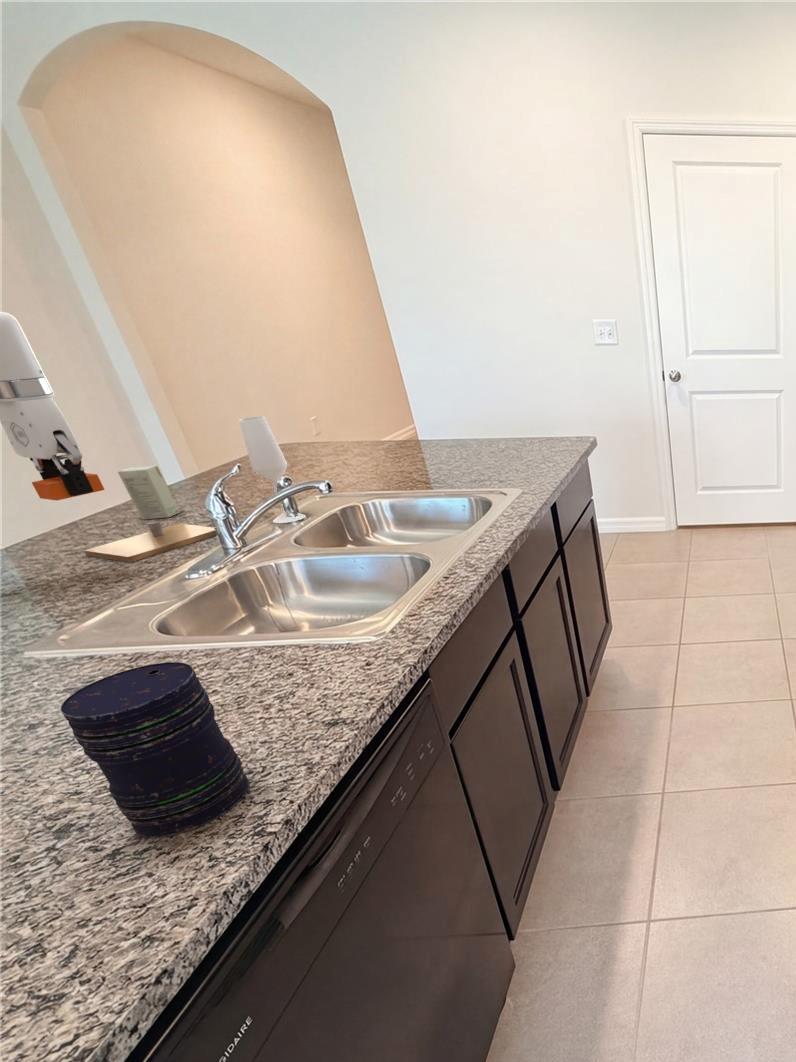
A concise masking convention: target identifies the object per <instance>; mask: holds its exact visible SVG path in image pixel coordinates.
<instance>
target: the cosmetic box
mask: <svg viewBox="0 0 796 1062" xmlns="http://www.w3.org/2000/svg"><path fill="white" fill-rule="evenodd" d="M117 474H118V475H119V477H120V479H121V481H122V483H123V485H124V488H125V490H126V491H127V493H128V495H129V497H130V499H131V501H132V503H133V505H134V506H135V509H136V511H137V512H138V515H139V516H140V518H141V520H153V519H155V520H156V519H165V518H170V517H173V516H175V515H178V514H179V513H181V510H180V509H179V506H178V504H177V502H176V500H175V498H174V496H173V494H172V492H171V490H170V488H169V485H168V484H167V482H166V480H165V478H164V476H163V474H162V471H161V469H160V468H159V465H145V466H132V467H131V466H130V467H128V468H124V469H121V470H118V471H117Z"/></svg>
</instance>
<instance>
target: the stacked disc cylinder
mask: <svg viewBox="0 0 796 1062" xmlns="http://www.w3.org/2000/svg"><path fill="white" fill-rule="evenodd" d="M60 712H61V714H62V715H63V717H64V719H65V720H66V721H68V725H69V727H70V728H71V730H72V735H73V737H74V738H75V740H76V741H77V743H78V745H79V746H81V747H82V748H83V753H84V755H85V756H86V757H88V758H89V760H91V761H92V762H95V763H96V764H97V765H98V767H99V769H100V770H101V771H102V774H103V775H104V777H105V779H106V780H107V782H108V783H109V785H108V791H109V793H110V794H111V797H112V800H114V801H115V805H116V806H117V807H118V810H119V812H121V814H122V815H123V816H125V817H126V819H127V820H128V821H129V822H130V823H131V827H132V829H133V830H134V832H135V834H137V835H138V836H142V837H144V838H165V837H170V836H171V837H172V836H176V835H179V834H182V833H186V832H189V831H192V830H194V829H197V828H199V827H201V826H204V825H206V824H209V823H210V822H212V821H214V820H216V819H218V818H219V817H221V816H223V815H224V814H226V813H228V812H229V811H230V810H232V809H233V808H235V806H236V805H237V804H239V803H240V801H242V799H243V798H244V797H245V796H246V795H247V793H248V791H249V789H250V781H249V779H248V776H247V775H246V774H245V771H244V769H243V766H242V761H241V760H240V757H239V756H238V753H236V751H235V750H234V746H233V745H232V742H231V741H230V740H229V739H228V738H226V737H225V736H224V734H223V733H222V731H221V728H220V727H219V724H218V722H217V720H216V717H215V716H216V713H215V707H214V704H213V703H212V702H211V701H210V697H209V695H208V693H207V691H206V689H205V687H204V686H202V682H200V680H199V679H198V677H197V673H196V671H195V669H194V667H193V666H192V665H191V664H188V663H185V662H179V661H178V662H177V661H176V662H175V661H167V662H159V663H158V662H157V663H151V664H147V665H141V666H137V667H133V668H129V669H125V670H123V671H120V672H116V673H113V674H111V675H108V676H106V677H103V678H101V679H98V680H95V681H93V682H91V683H89V684H87V685H85V686H83V687H81V688H80V689H78V690H76V691H75V692H74V693H72V694H70V695H69V696H68V697H66V699H65V700H64V701H63V702H62V704H60Z"/></svg>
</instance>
